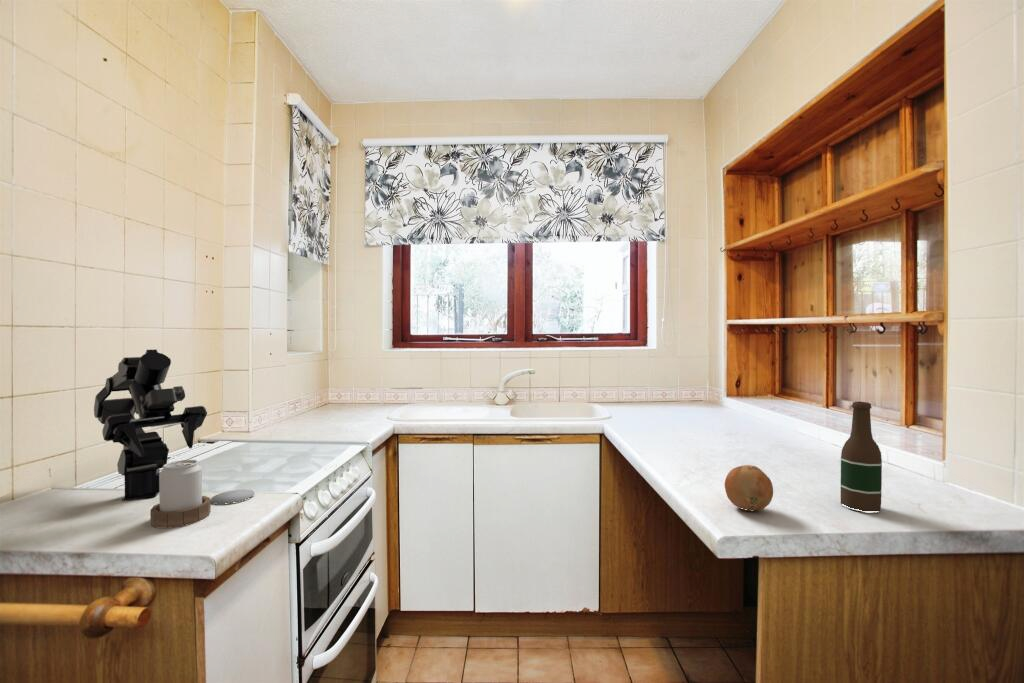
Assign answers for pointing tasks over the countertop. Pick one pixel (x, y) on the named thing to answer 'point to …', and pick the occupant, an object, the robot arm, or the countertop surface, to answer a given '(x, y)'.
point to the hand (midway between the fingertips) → (167, 451)
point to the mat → (232, 496)
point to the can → (180, 485)
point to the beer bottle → (861, 464)
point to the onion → (749, 487)
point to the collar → (180, 515)
